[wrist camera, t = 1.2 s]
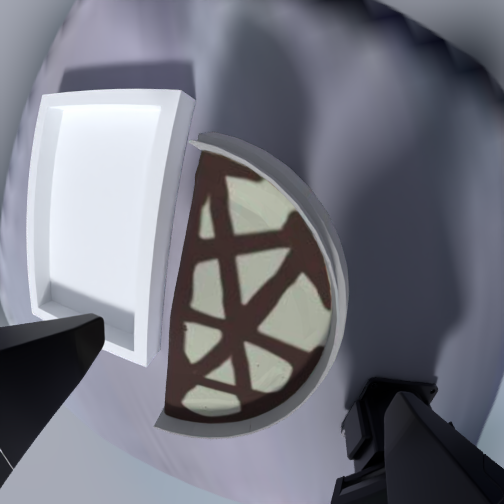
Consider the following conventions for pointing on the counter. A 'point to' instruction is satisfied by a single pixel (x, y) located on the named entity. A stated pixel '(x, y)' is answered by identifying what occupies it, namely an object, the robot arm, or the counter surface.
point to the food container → (251, 296)
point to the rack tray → (106, 209)
